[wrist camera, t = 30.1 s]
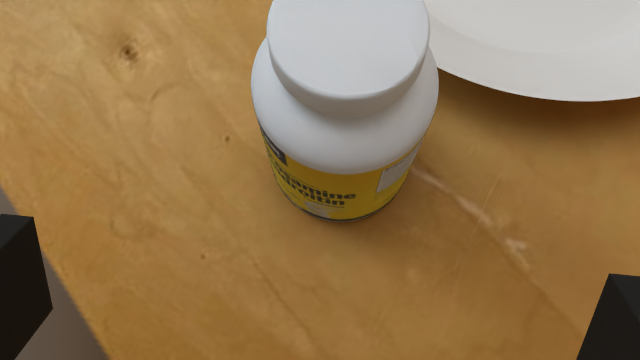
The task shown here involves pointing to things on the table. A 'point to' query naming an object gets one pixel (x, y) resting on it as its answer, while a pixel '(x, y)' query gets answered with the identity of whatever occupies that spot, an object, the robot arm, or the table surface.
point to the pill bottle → (344, 100)
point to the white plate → (541, 46)
